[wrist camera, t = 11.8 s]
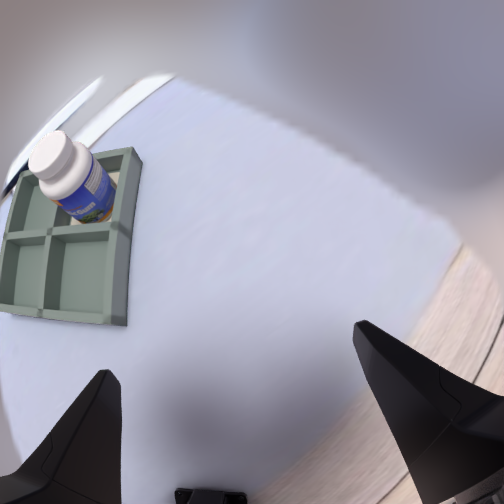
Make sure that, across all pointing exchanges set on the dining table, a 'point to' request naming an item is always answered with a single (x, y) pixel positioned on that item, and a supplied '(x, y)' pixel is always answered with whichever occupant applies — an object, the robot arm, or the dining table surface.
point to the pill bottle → (73, 178)
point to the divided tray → (70, 251)
